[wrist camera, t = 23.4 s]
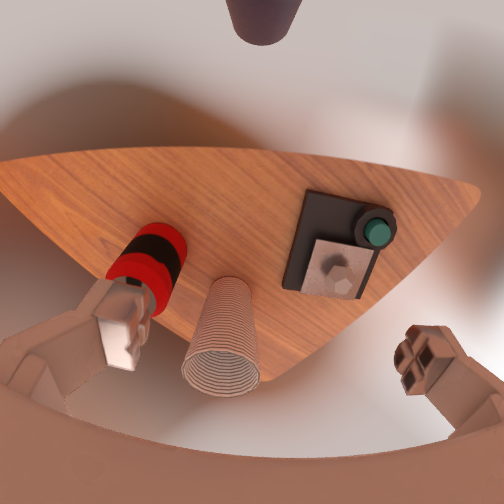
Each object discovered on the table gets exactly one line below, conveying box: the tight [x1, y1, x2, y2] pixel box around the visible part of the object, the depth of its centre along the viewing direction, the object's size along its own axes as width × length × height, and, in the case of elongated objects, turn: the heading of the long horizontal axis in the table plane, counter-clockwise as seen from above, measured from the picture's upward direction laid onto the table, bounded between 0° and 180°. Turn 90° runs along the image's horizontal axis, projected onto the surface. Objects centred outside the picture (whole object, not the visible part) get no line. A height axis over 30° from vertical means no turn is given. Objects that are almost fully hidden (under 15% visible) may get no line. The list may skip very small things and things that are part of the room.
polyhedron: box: [324, 265, 356, 294], centre depth 36 cm, size 4×4×3 cm
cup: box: [181, 277, 261, 398], centre depth 36 cm, size 8×8×16 cm
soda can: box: [105, 223, 187, 317], centre depth 35 cm, size 8×8×12 cm
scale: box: [282, 189, 397, 299], centre depth 38 cm, size 14×12×3 cm
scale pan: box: [300, 238, 374, 300], centre depth 38 cm, size 8×8×1 cm
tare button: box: [365, 219, 391, 246], centre depth 35 cm, size 3×3×2 cm
